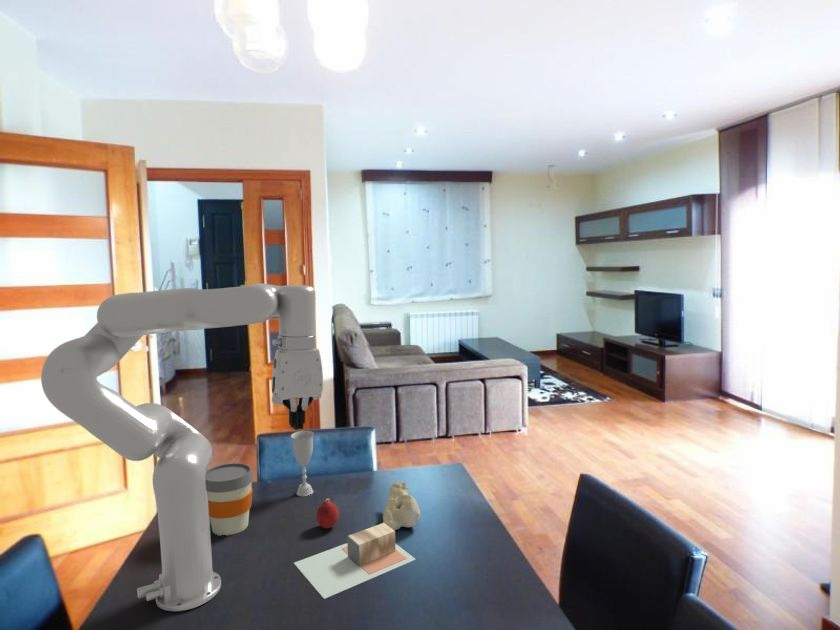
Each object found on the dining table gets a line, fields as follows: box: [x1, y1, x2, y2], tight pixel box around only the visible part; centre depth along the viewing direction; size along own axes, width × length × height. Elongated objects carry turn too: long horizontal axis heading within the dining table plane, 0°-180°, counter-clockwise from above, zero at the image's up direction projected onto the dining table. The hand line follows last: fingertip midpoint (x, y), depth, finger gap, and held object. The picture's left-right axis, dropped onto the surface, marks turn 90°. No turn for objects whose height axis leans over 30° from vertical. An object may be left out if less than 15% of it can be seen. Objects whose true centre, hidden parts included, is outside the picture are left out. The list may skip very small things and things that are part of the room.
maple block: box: [346, 522, 396, 566], centre depth 120 cm, size 5×5×10 cm
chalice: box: [290, 430, 315, 497], centre depth 154 cm, size 7×7×18 cm
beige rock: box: [382, 480, 421, 532], centre depth 136 cm, size 15×7×15 cm
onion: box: [315, 498, 340, 529], centre depth 133 cm, size 6×6×8 cm
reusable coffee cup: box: [205, 462, 254, 536], centre depth 135 cm, size 13×13×15 cm
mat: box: [293, 542, 417, 599], centre depth 118 cm, size 23×16×1 cm
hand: (297, 427), depth 110 cm, fingers closed
